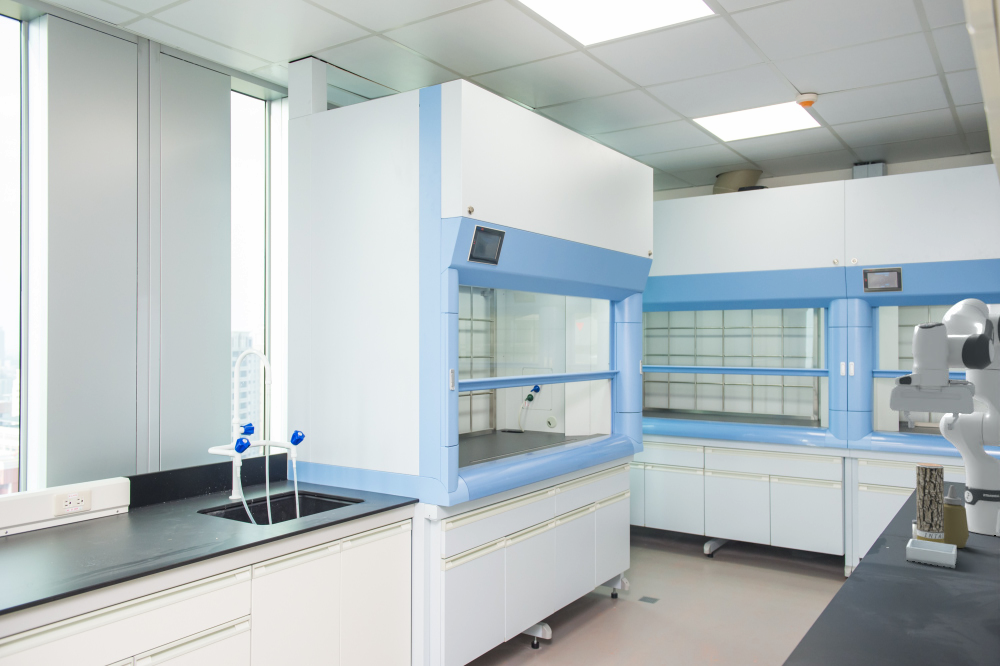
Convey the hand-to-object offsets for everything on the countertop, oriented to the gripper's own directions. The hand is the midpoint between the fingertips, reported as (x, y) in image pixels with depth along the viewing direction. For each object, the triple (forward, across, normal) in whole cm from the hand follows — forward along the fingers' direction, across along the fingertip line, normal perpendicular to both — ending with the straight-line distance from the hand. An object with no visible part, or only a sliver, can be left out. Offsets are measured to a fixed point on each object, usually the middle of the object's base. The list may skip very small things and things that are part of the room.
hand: (931, 428), depth 193 cm
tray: (+36, 0, +1) cm, 36 cm away
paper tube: (+37, +1, -10) cm, 38 cm away
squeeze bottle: (+37, -4, -20) cm, 42 cm away
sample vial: (+37, +5, -21) cm, 43 cm away
